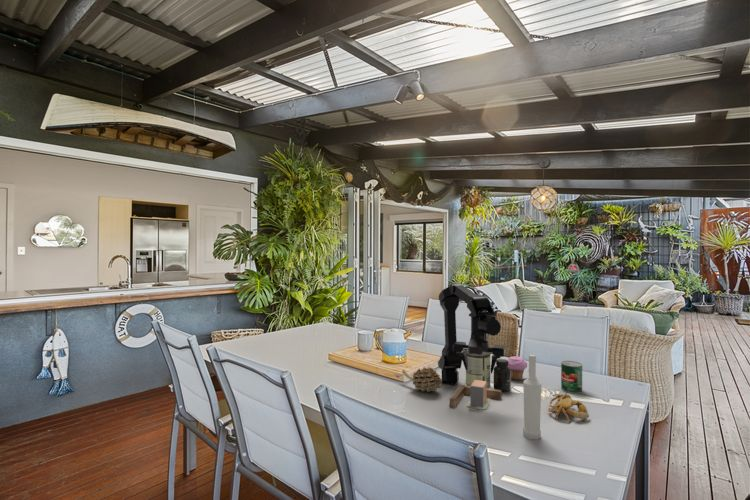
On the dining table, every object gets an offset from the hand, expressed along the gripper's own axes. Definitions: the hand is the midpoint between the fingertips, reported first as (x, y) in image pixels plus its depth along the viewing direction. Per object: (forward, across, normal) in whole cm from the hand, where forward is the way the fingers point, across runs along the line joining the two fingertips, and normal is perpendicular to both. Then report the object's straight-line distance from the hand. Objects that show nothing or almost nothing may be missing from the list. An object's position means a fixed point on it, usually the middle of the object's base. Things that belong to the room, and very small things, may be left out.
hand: (478, 371), depth 153 cm
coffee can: (+12, -4, +20) cm, 24 cm away
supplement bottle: (+12, +6, +19) cm, 23 cm away
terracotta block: (+12, 0, 0) cm, 12 cm away
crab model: (+12, +30, +3) cm, 33 cm away
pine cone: (+12, -25, +5) cm, 28 cm away
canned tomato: (+12, +32, +30) cm, 46 cm away
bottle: (+12, +20, -20) cm, 31 cm away
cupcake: (+12, +10, +36) cm, 39 cm away
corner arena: (+12, -1, +1) cm, 12 cm away
